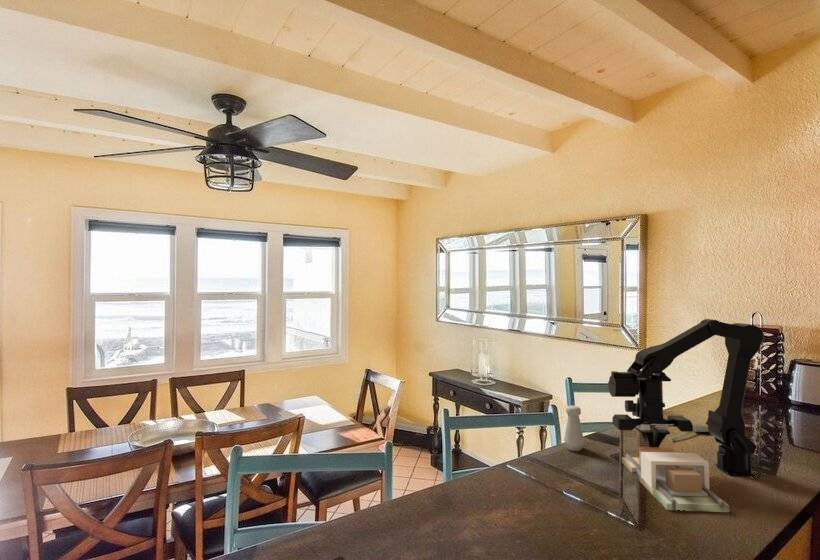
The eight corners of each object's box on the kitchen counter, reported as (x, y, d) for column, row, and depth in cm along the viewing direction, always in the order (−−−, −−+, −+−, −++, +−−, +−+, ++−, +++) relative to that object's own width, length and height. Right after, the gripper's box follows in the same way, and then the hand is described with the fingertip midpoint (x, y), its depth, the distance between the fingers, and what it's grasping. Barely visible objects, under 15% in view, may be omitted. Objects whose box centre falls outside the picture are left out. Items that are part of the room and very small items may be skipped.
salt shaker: (585, 452, 131) (584, 409, 132) (565, 451, 133) (564, 408, 133) (582, 445, 137) (581, 404, 137) (563, 444, 138) (562, 403, 138)
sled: (670, 465, 117) (670, 447, 117) (707, 496, 100) (707, 475, 100) (639, 464, 118) (638, 446, 118) (671, 495, 101) (670, 474, 101)
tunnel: (695, 478, 110) (694, 452, 110) (709, 489, 104) (708, 462, 104) (641, 477, 111) (640, 451, 111) (651, 487, 105) (651, 461, 105)
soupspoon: (719, 436, 147) (698, 431, 153) (718, 426, 147) (698, 421, 153) (680, 445, 137) (660, 440, 143) (679, 434, 137) (659, 429, 143)
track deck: (670, 463, 122) (670, 455, 122) (729, 512, 96) (729, 501, 96) (621, 462, 124) (621, 454, 124) (666, 510, 97) (666, 499, 97)
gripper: (672, 390, 126) (674, 444, 126) (605, 389, 128) (606, 443, 128) (693, 400, 115) (694, 459, 115) (619, 399, 117) (620, 457, 117)
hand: (652, 454), depth 119 cm, fingers closed
